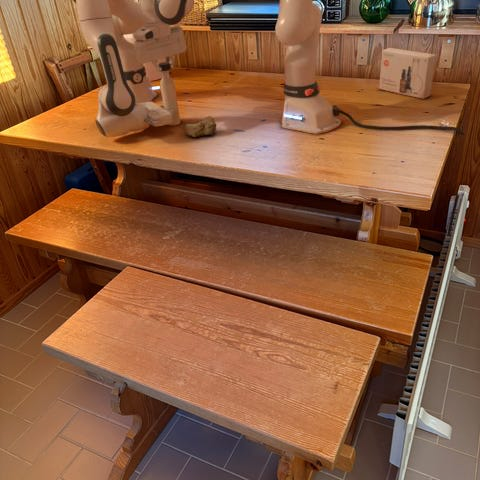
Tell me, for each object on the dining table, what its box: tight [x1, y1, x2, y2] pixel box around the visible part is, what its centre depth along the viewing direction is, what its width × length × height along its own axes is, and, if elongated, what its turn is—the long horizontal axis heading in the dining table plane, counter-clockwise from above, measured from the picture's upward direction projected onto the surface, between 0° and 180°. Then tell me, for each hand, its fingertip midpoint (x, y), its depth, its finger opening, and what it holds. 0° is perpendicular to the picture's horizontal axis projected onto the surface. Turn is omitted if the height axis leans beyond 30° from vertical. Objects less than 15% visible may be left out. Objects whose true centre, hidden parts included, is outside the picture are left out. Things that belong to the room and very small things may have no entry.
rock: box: [185, 115, 218, 138], centre depth 169 cm, size 11×6×10 cm
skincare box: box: [378, 47, 437, 100], centre depth 184 cm, size 21×6×16 cm, turn 40°
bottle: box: [159, 70, 182, 127], centre depth 176 cm, size 5×5×20 cm
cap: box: [159, 61, 171, 71], centre depth 170 cm, size 4×4×2 cm
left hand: (173, 108), depth 179 cm, fingers closed on bottle, 5 cm apart
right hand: (165, 70), depth 171 cm, fingers closed on cap, 4 cm apart
